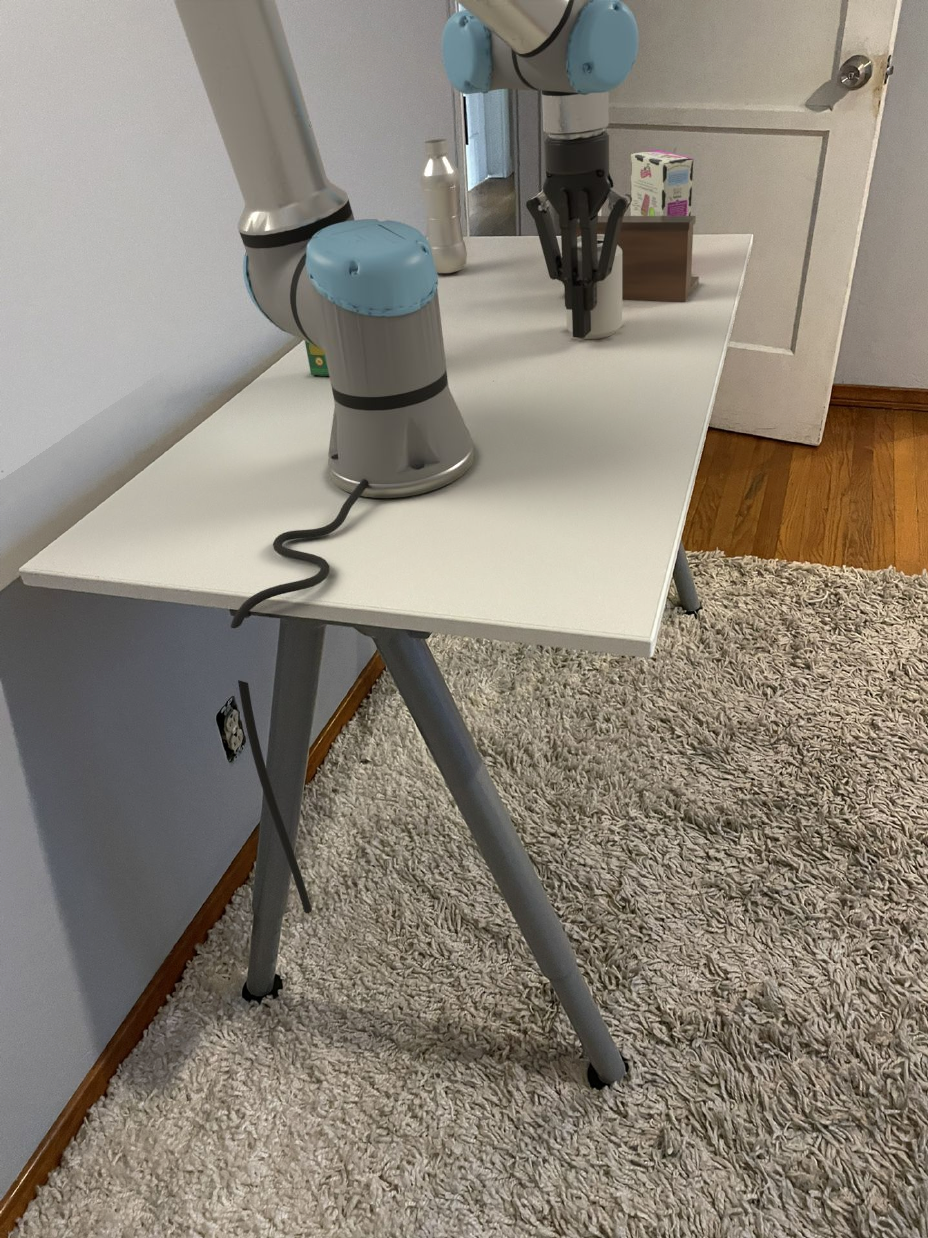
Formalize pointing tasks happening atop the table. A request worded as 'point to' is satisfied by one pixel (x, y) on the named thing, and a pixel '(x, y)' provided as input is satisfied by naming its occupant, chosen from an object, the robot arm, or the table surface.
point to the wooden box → (655, 256)
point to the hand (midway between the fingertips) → (581, 333)
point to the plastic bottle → (442, 207)
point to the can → (603, 297)
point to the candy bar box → (661, 184)
